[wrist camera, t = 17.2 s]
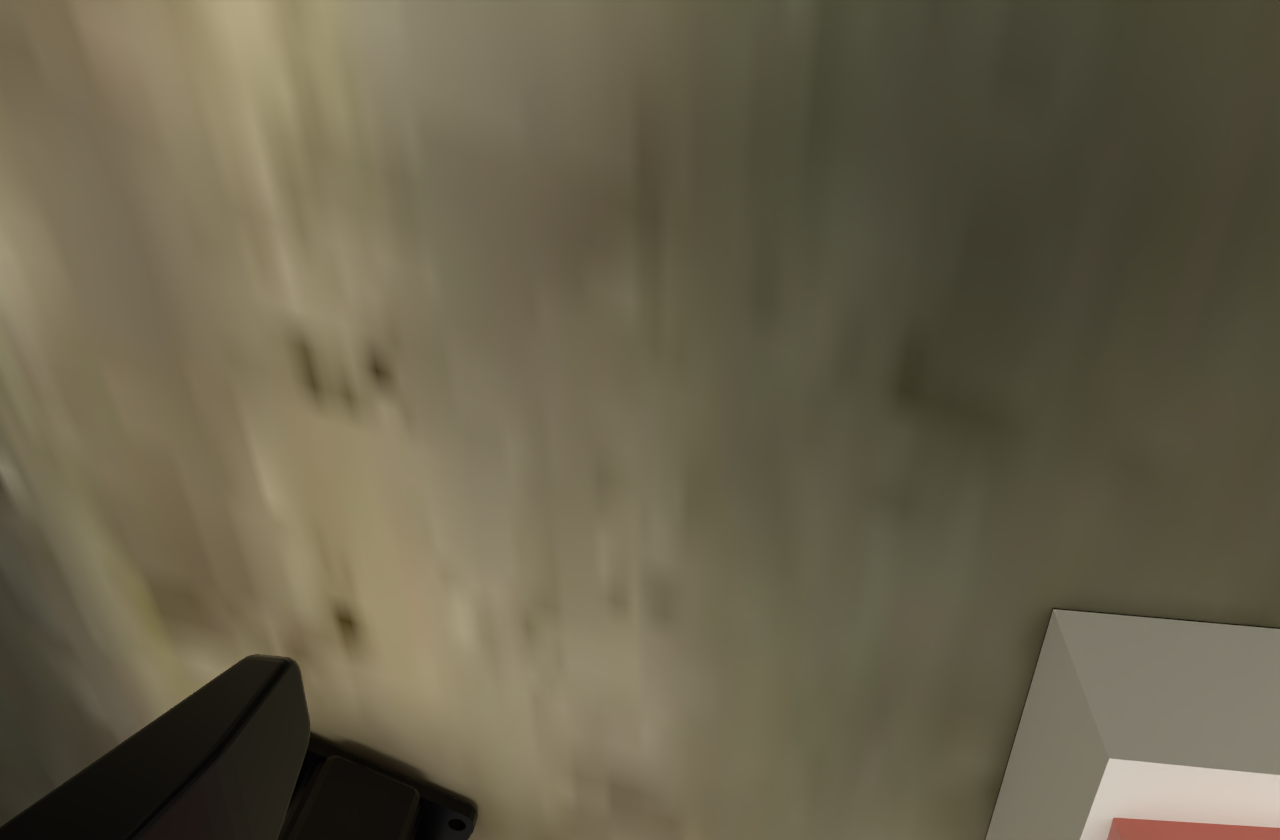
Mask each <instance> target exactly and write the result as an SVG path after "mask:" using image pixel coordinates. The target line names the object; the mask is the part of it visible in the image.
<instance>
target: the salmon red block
mask: <svg viewBox="0 0 1280 840" xmlns="http://www.w3.org/2000/svg"><path fill="white" fill-rule="evenodd" d="M1107 840H1280V828H1273V827H1257V826H1241V825H1225V824H1209V823H1193V822H1177V821H1161V820H1145V819H1129V818H1113V821H1112V825H1111V828H1110V832H1109V835H1108V839H1107Z"/></svg>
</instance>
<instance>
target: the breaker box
mask: <svg viewBox="0 0 1280 840" xmlns="http://www.w3.org/2000/svg"><path fill="white" fill-rule="evenodd" d="M1113 818H1129V819H1145V820H1161V821H1177V822H1193V823H1209V824H1225V825H1241V826H1257V827H1273V828H1280V629H1273V628H1262V627H1250V626H1239V625H1228V624H1216V623H1205V622H1193V621H1182V620H1171V619H1159V618H1148V617H1136V616H1125V615H1114V614H1102V613H1091V612H1080V611H1068V610H1057V609H1053V611H1052V615H1051V618H1050V622H1049V625H1048V628H1047V632H1046V635H1045V639H1044V642H1043V645H1042V649H1041V652H1040V656H1039V659H1038V662H1037V666H1036V669H1035V673H1034V676H1033V679H1032V683H1031V686H1030V690H1029V693H1028V696H1027V700H1026V703H1025V707H1024V710H1023V713H1022V717H1021V720H1020V724H1019V727H1018V731H1017V734H1016V737H1015V741H1014V744H1013V748H1012V751H1011V754H1010V758H1009V761H1008V765H1007V768H1006V771H1005V775H1004V778H1003V782H1002V785H1001V788H1000V792H999V795H998V799H997V802H996V805H995V809H994V812H993V816H992V819H991V822H990V826H989V829H988V833H987V836H986V839H985V840H1107V839H1108V835H1109V832H1110V828H1111V825H1112V821H1113Z"/></svg>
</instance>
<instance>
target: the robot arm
mask: <svg viewBox="0 0 1280 840" xmlns="http://www.w3.org/2000/svg"><path fill="white" fill-rule="evenodd" d="M477 816H478V815H477V812H476V810H475V809H474V808H473V807H472V806H470V805H469V804H467V803H465V802H462V801H460V800H458V799H455V798H453V797H450V796H448V795H446V794H443V793H441V792H439V791H436V790H434V789H431V788H429V787H427V786H424V785H422V784H420V783H417V782H415V781H412V780H410V779H408V778H405V777H403V776H400V775H398V774H396V773H393V772H391V771H389V770H386V769H384V768H381V767H379V766H377V765H374V764H372V763H369V762H367V761H365V760H362V759H360V758H358V757H355V756H353V755H350V754H348V753H346V752H343V751H341V750H338V749H336V748H334V747H331V746H329V745H327V744H324V743H322V742H319V741H317V740H315V739H312V738H310V719H309V713H308V708H307V703H306V697H305V692H304V687H303V681H302V676H301V671H300V668H299V665H298V664H297V662H296V661H295V660H294V659H292V658H289V657H281V656H271V655H260V654H255V655H250V656H248V657H246V658H244V659H242V660H241V661H239V662H238V663H236V664H235V665H233V666H232V667H231V668H229V669H228V670H226V671H225V672H223V673H222V674H220V675H219V676H218V677H216V678H215V679H213V680H212V681H210V682H209V683H207V684H206V685H205V686H203V687H202V688H200V689H199V690H197V691H196V692H194V693H193V694H192V695H190V696H189V697H187V698H186V699H184V700H183V701H182V702H180V703H179V704H177V705H176V706H174V707H173V708H171V709H170V710H169V711H167V712H166V713H164V714H163V715H161V716H160V717H158V718H157V719H156V720H154V721H153V722H151V723H150V724H148V725H147V726H145V727H144V728H143V729H141V730H140V731H138V732H137V733H135V734H134V735H133V736H131V737H130V738H128V739H127V740H125V741H124V742H122V743H121V744H120V745H118V746H117V747H115V748H114V749H112V750H111V751H109V752H108V753H107V754H105V755H104V756H102V757H101V758H99V759H98V760H96V761H95V762H94V763H92V764H91V765H89V766H88V767H86V768H85V769H83V770H82V771H81V772H79V773H78V774H76V775H75V776H73V777H72V778H71V779H69V780H68V781H66V782H65V783H63V784H62V785H60V786H59V787H58V788H56V789H55V790H53V791H52V792H50V793H49V794H47V795H46V796H45V797H43V798H42V799H40V800H39V801H37V802H36V803H34V804H33V805H32V806H30V807H29V808H27V809H26V810H24V811H23V812H21V813H20V814H19V815H17V816H16V817H14V818H13V819H11V820H10V821H9V822H7V823H6V824H4V825H3V826H1V827H0V840H468V838H469V837H470V835H471V834H472V832H473V830H474V826H475V823H476V820H477Z"/></svg>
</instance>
